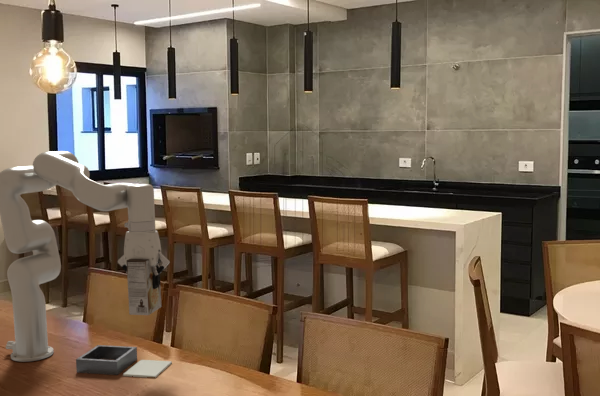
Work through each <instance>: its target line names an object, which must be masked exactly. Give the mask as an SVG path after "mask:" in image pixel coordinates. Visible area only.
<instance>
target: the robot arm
mask: <svg viewBox="0 0 600 396" xmlns="http://www.w3.org/2000/svg"><path fill="white" fill-rule="evenodd" d="M90 175H91V173H90V169H89V168H88V167H87V166H86V165H83V164H81V163H79V159H78V158H77V157H76V155H75V154H73V152H70V151H67V150H66V151H65V150H56V151H55V150H54V151H53V150H52V151H51V150H50V151H44V152H41V153H39V154H38V155H37V156H36V157H35V158H34V159H33V161H32V165H21V166H20V165H19V166H12V167H8V168H5V169H3V170H1V171H0V223H1V226H2V232H3V235H4V240H5V245H6V247H7V250H8V251H9V252H11V253H13V254H25V253H29V252H32V255H28V256H25V257H20V258H18V259H15V260H14V261H13V262H12V263H11V264H10V265H9V266H8V268H7V273H6V276H7V281H8V284H9V289H10V292H11V299H12V311H13V312H12V313H13V325H14V329H13V330H14V340H8V341H7V342H6V344H5V349H6V350H12V352H11V354H10V359H11V360H12V361H15V362H19V363H22V362H23V363H26V362H27V363H28V362H34V361H40V360H44V359H46V358H50V357H51V356H52V355H53V354H54V353H55V352H54V350H55V349H54V348H53V347H52V346H49V339H48V324H47V308H46V307H47V306H46V297H45V294H44V292H43V291H42V289H41V287H40V285H41V284H45V283H48V282H51V281H53V280H56V279H57V278H58V276H59V275H60V273H61V269H62V263H61V258H60V253H59V248H58V243H57V242H58V241H57V238H56V233H55V231H54V229H53V228H52V226H51V224H50V223H48V222H47V221H45V220H43V219H32V217H31V213H30V207H29V206H28V203H26V200H25V199H24V198H22V197H21V195H23V194H31V193H38V192H44V191H47V190H49V189H51V188H54V187H56V186H59V187H62V188H64V189H65V190H68V191H69V192H71V193H72V195H73V196H74V197H75V199H77V201H79V202H80V203H82V204H83V205H86V206H88V207H90V208H92V209H95V210H97V211H101V212H111V211H115V210H120V209H121V210H122V209H126V208H127V218H128V221H127V222H124V225H123V226H124V228H127V230H128V231H126V232H125V234H124V235H125V236H124V244H123V245H124V246H123V255H122V256H121V257H120V258H118V260H117V263H118V265H119V266H120V267H121V268H122V269H123V270H124V271H125V273H126V274H127V260H129V259H148V260H149V264H150V267H152V271H153V273H154V275H153V276H152V282H153V289H156V288H158V287H159V285H160V284H161V274H162V272H164V270H165V269H166V268H167V267H168V265H169V264H170V263H171V262H170V260H169V259H168V257H166V256H165V255H164V253H162V247H161V246H162V245H161V240H160V234H159V232H158V230H156V213H155V212H156V211H155V189H154V187H153V185H152V184H149V183H130V182H117V183H109V184H102V183H99V182H96V181H94V180H92V179H90ZM159 263H160V264H161V265H160V267H159Z"/></svg>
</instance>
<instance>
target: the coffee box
mask: <svg viewBox="0 0 600 396" xmlns="http://www.w3.org/2000/svg"><path fill="white" fill-rule="evenodd" d="M160 264H161V263H159V267H160V266H161V265H160ZM153 275H154V273H153V271H152V267H150V264H149V260H148V259H129V260H127V273H126V277H127V293H128V294H127V295H128V297H127V298H128V312H129V313H128V314H129V315H133V316H134V315H136V316H150V315H152V314H153V313H155V312H156V311H157V310H159V309H160V308H162V307H163V306H162V290H161V289H162V287H161V283H160V285H159V287H158V288H156V289H153V282H152V276H153Z"/></svg>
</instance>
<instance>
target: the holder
mask: <svg viewBox="0 0 600 396" xmlns="http://www.w3.org/2000/svg"><path fill="white" fill-rule="evenodd" d="M136 361H138V347H137V346H127V345H125V346H123V345H121V346H120V345H104V344H103V345H101V344H97V345H95V346H94V347H92V348H91V349H90V350H88V351H87V352H85V353H83V354H82V355H80V356H79V357H77V358H76V359H75V362H76V363H75V364H76V365H75V369H76V373H79V374H80V373H81V374H92V375H93V374H95V375H97V374H99V375H112V376H118V375H120V374H121V373H122V372H123V371H125V370H126V369H127V368H128V367H130V366H131V365H133V364H134V363H135V362H136Z"/></svg>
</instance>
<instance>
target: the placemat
mask: <svg viewBox="0 0 600 396" xmlns="http://www.w3.org/2000/svg"><path fill="white" fill-rule="evenodd" d="M172 363H173V362H172V361H171V360H153V359H140V360H139V361H138V362H136V363H135V364H134V365H133V366H131V367H130V368H128V369H127V370H126V371H125V372H123V374H122V377H132V376H133V377H134V378H147V377H155V378H154V379H156V378H157V377H159V374H160V373H161V372H162V373H163V372H164V371H165V370H166V369H167V368H168V367H170V366H171V365H172ZM162 373H161V374H162ZM161 374H160V375H161Z"/></svg>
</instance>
